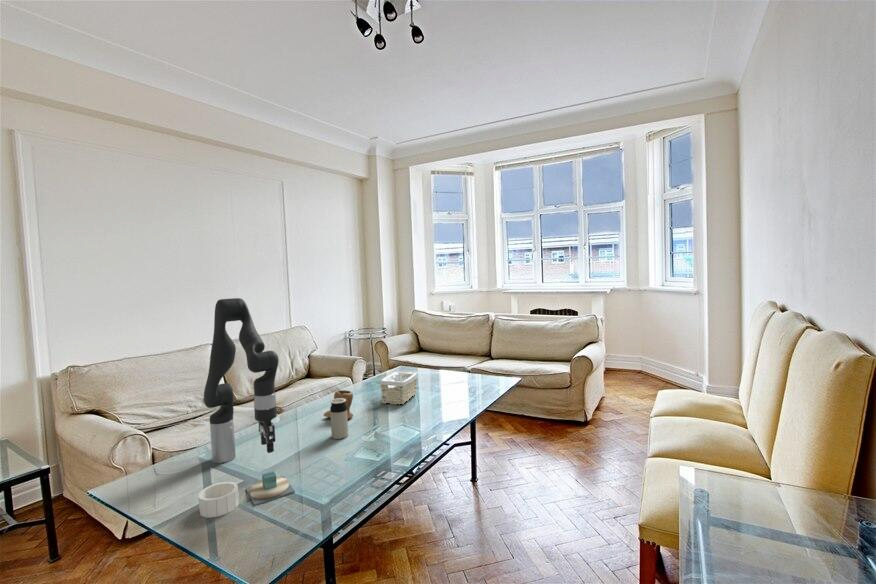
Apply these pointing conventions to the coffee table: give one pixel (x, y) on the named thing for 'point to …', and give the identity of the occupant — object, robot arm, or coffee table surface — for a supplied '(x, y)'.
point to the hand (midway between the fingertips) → (267, 448)
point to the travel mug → (339, 418)
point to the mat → (260, 501)
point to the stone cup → (348, 396)
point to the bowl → (218, 499)
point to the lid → (269, 486)
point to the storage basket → (398, 387)
